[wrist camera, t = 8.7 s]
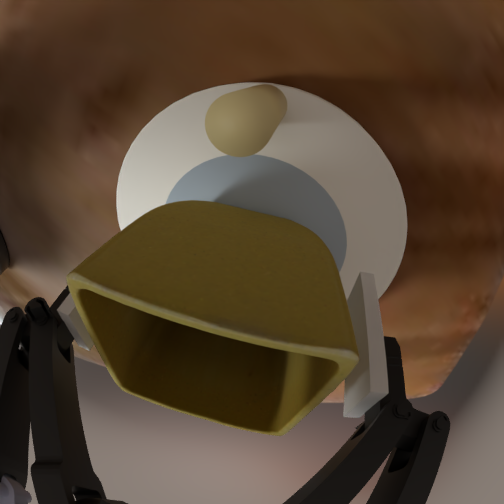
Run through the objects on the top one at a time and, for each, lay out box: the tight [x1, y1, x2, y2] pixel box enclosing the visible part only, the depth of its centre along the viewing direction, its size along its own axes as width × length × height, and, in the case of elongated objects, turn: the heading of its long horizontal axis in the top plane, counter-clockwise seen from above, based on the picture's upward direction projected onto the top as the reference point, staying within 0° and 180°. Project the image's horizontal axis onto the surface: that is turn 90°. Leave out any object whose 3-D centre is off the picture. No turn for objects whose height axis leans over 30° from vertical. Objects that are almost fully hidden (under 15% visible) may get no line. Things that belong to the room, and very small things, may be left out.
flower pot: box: [66, 200, 360, 436], centre depth 13 cm, size 9×9×9 cm
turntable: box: [117, 82, 408, 300], centre depth 15 cm, size 18×18×7 cm
